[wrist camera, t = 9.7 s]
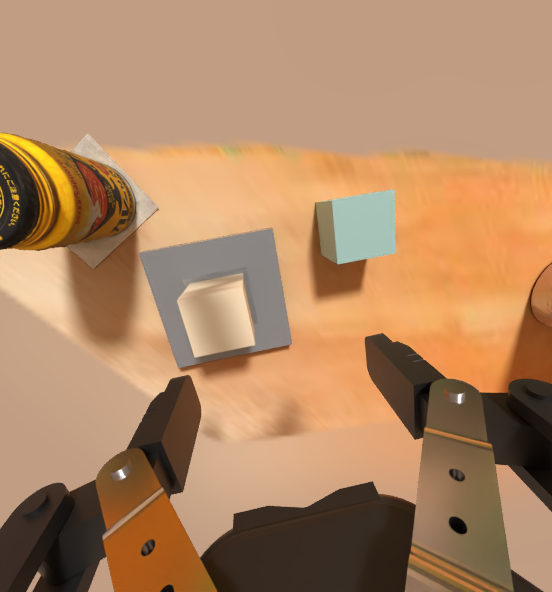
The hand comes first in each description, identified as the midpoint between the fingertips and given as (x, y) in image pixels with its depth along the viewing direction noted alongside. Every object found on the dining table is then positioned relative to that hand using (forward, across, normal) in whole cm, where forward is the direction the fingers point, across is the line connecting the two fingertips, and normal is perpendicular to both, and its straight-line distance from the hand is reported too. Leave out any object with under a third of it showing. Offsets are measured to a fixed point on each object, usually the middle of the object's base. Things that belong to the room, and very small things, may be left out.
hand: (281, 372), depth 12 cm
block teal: (+16, -9, -4) cm, 18 cm away
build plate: (+15, +4, +1) cm, 16 cm away
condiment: (+15, +13, -10) cm, 23 cm away
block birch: (+14, +4, +1) cm, 15 cm away
